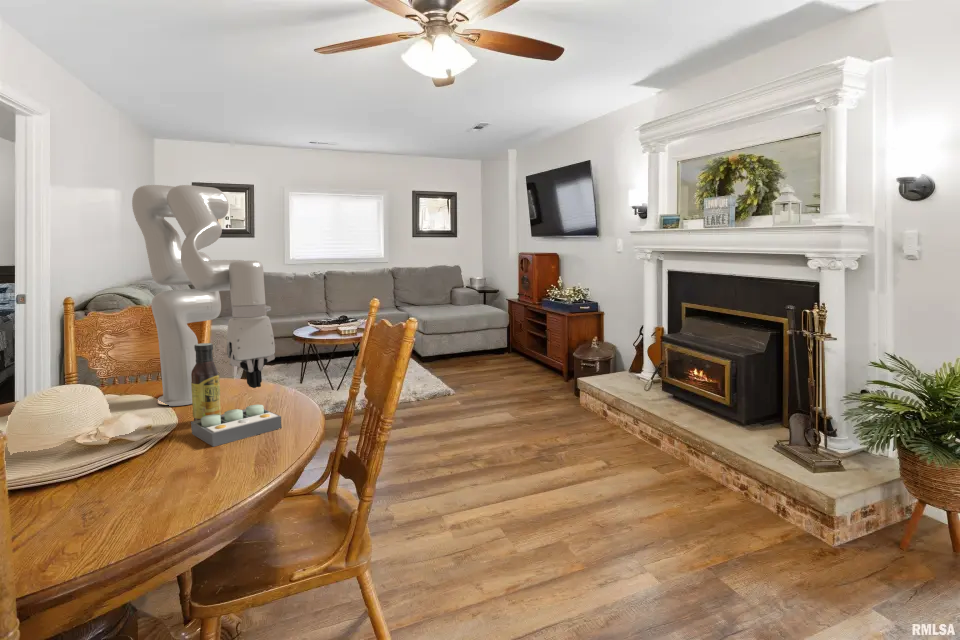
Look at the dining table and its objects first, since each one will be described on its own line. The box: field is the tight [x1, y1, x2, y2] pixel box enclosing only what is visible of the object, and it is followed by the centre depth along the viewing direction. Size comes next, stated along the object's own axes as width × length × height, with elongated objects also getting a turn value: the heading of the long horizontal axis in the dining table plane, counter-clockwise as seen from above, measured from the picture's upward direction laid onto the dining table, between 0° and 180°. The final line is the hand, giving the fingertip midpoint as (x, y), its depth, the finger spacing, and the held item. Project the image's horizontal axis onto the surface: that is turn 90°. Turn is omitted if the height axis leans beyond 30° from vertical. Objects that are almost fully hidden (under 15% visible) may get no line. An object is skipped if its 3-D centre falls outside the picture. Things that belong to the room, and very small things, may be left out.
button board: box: [190, 408, 282, 447], centre depth 125 cm, size 12×16×3 cm
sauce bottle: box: [191, 342, 222, 421], centre depth 131 cm, size 7×6×20 cm
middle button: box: [223, 408, 243, 422], centre depth 126 cm, size 4×4×3 cm
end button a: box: [201, 414, 221, 428], centre depth 122 cm, size 4×4×3 cm
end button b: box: [245, 404, 265, 417], centre depth 130 cm, size 4×4×3 cm
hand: (254, 386), depth 129 cm, fingers closed
